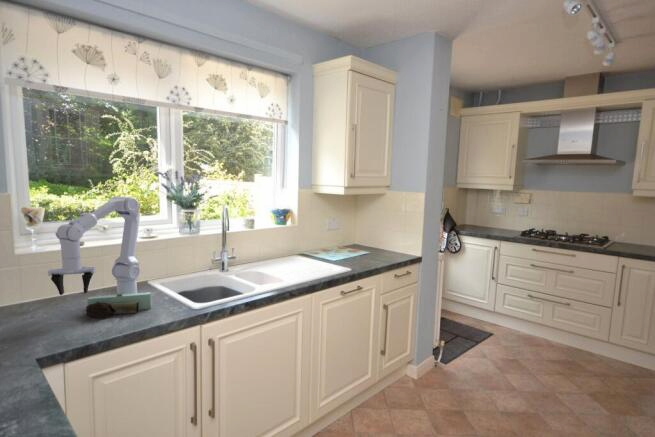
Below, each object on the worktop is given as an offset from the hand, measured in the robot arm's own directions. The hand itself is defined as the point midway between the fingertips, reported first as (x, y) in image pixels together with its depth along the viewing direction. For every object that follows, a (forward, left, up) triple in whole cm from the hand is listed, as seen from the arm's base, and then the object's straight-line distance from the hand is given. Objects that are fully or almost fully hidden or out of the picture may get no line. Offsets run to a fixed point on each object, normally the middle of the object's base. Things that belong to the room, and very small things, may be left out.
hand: (73, 293), depth 138 cm
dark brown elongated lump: (-1, +12, -10) cm, 16 cm away
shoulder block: (-5, +14, -10) cm, 18 cm away
